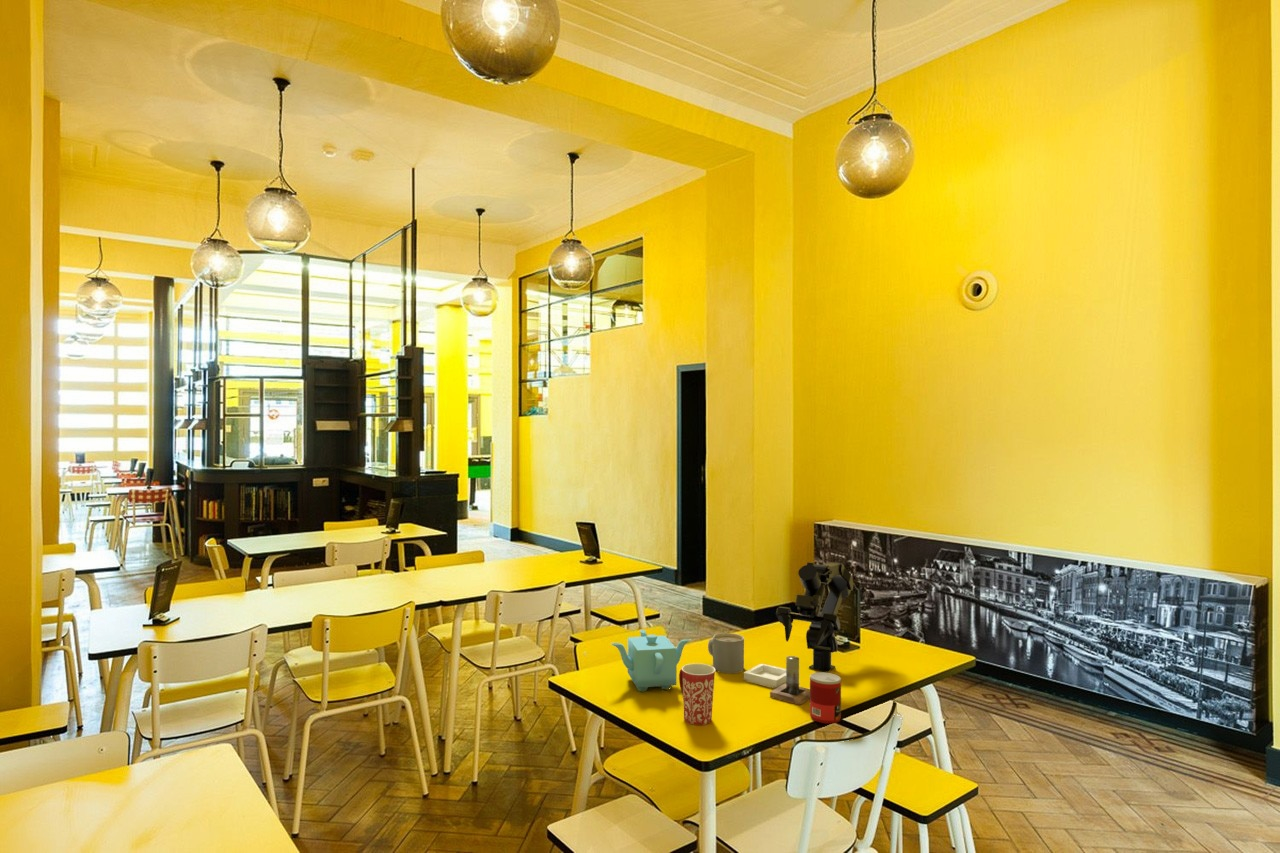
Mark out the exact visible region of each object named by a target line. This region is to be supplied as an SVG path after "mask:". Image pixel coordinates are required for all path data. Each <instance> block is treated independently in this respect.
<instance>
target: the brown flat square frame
mask: <svg viewBox="0 0 1280 853" xmlns="http://www.w3.org/2000/svg"><path fill="white" fill-rule="evenodd" d="M769 697H770V698H773V699H776V700H779V699H780V701H784V702H786V703H787V702H788V703H790V704H795V705H798V706H801V705H803V704H804V703H805V702H807V701H810V688H807V687H802V686H799V695H798V696H795V695H791V694H787V693H786V683H785V684H783V685H781V686H779V687H778V688H776V689H775V688H773V690H771V691H770V692H769Z"/></svg>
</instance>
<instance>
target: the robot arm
mask: <svg viewBox="0 0 1280 853" xmlns="http://www.w3.org/2000/svg"><path fill="white" fill-rule="evenodd" d="M797 575H798V577H799V580H800V582H801V585H802V587H803V589H805V591H804V592H803V594H796V598H795V606H797V607H796V610H797V612H799V613H796V612H793V611H792V609H791V607H787V606H778V607H777V608H776V612H775V615H776V618H777V619H778V621H779V623H780V624H782V626H784V634H785V641H786V642H789V640H790V637H791V633H792V630H793V623H794V620H796V621H802V622H807V623H810V625H809V627H808V629H807V631H806V633H805V640H806V648H807V649H808V650H812V664H811V665H809V666H808V668H809V669H811V670H816V671H819V672H825V673H830V672H831V671H832V670H834V669H836V666H835V665H833V664H832V654H833V653H836V652H838V641H837V638H836V634H835V632H837V633H838V632H840V629H841V622H840V620H839V619H840V618H839V616H838V612H839V610H840V607H841V604H842V601H843V600H844V599H845V598H848V597H849V596H850V594H851V592H852V591H853V590H854V578H853V576H852V574H851V573H850V571H848V570H847V568H845V565H844V563H842V562H836V561H830V562H827V563H824V564H816V563H814V562H809V561H808V562H807V563H806V564H805V565H803V566H801V567H800V568H799V569H798V572H797ZM824 584H826V586H827V591H828V594H827V597H826V599H825V603H824V605H823V607H822V603H823V599H824V596H825V594H826V593H825V591H826V588H825V585H824ZM820 611H821V613H820Z"/></svg>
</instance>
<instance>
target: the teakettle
mask: <svg viewBox="0 0 1280 853" xmlns="http://www.w3.org/2000/svg"><path fill="white" fill-rule="evenodd" d="M639 631H640V636H633V637H632V636H631V637H627V650H626V648H625V646H624V644H622V643H619V642H612V643H610V645H612V646H614V647H615V648H617V649H618V651H619V654H620V656H621V661H622V663H623V665H624V666H625V668H627V673H628V676H629V677H630V679H631V681H632V683H634V686H635V687H636V688H637V691H639V692H646V690H647V691H648V688H654V687H655V688H656V687H657V688H658V687H660V689H661V688H662V689H661V690H663V689H669V688H670V687H671V686H677V679H678V678H677V670H678V669H677V668H678V667H677V665H678V664H679V663H680V660H681V657H682V654H683V650H684V647H685V646H686V644H687V643H689V642H691V641H692V639H691V638H685V639H681V640H680V641H679V642H678V644H677V646H675V645H674V644H673V643H672V641H670V639H669V638H668V637H667V636H666V635H656V634H648V635H647V631H646V630H645V629H640V630H639ZM669 690H670V689H669Z"/></svg>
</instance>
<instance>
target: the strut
mask: <svg viewBox="0 0 1280 853" xmlns="http://www.w3.org/2000/svg"><path fill="white" fill-rule="evenodd" d="M785 666H786V668H785V669H786V693H787V694H791V695H795V696H798V695H799V687H800V658H799V657H798V656H794V655H793V656H792V655H791V656H789V655H788V656H786V660H785Z"/></svg>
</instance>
